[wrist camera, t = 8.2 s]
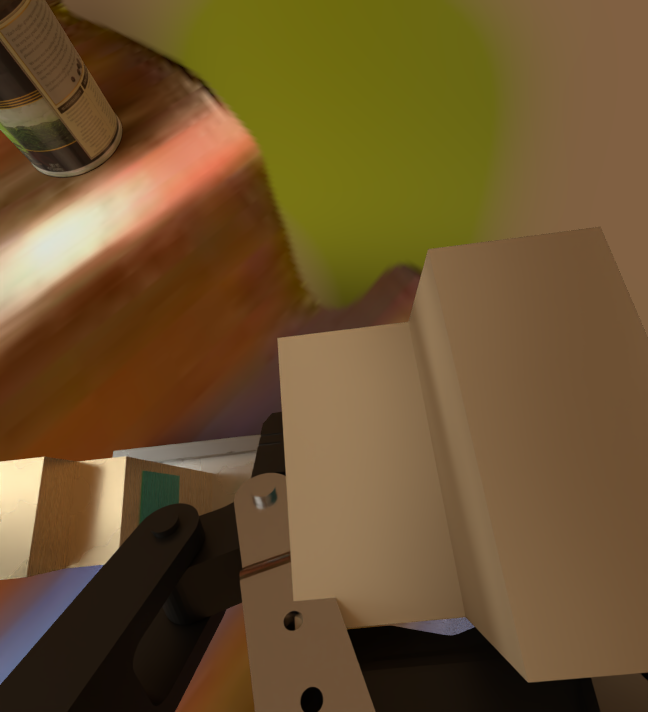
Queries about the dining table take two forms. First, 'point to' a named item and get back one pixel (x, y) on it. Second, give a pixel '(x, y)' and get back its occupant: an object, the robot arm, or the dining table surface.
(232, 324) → the dining table surface
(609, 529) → the maple finger
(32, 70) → the coffee can
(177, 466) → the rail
